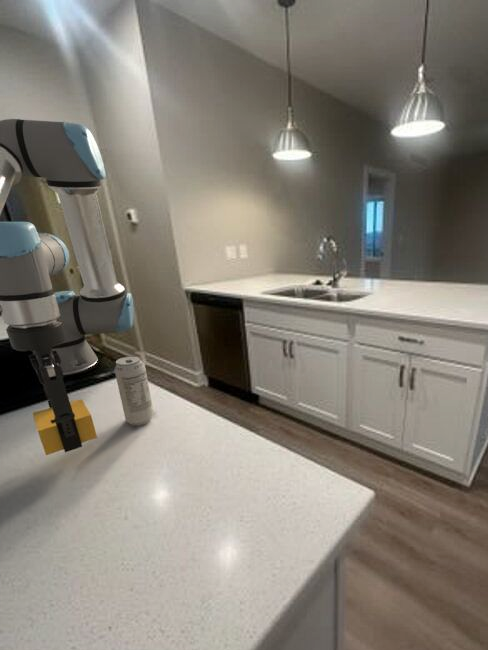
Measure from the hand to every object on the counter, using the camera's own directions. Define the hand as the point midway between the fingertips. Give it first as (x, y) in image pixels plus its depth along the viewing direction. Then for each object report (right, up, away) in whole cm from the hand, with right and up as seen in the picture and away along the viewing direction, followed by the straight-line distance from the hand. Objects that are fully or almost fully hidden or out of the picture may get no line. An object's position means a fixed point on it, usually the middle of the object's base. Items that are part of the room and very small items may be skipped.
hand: (69, 437), depth 65 cm
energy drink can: (+7, +1, +15) cm, 16 cm away
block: (0, 0, 0) cm, 0 cm away
